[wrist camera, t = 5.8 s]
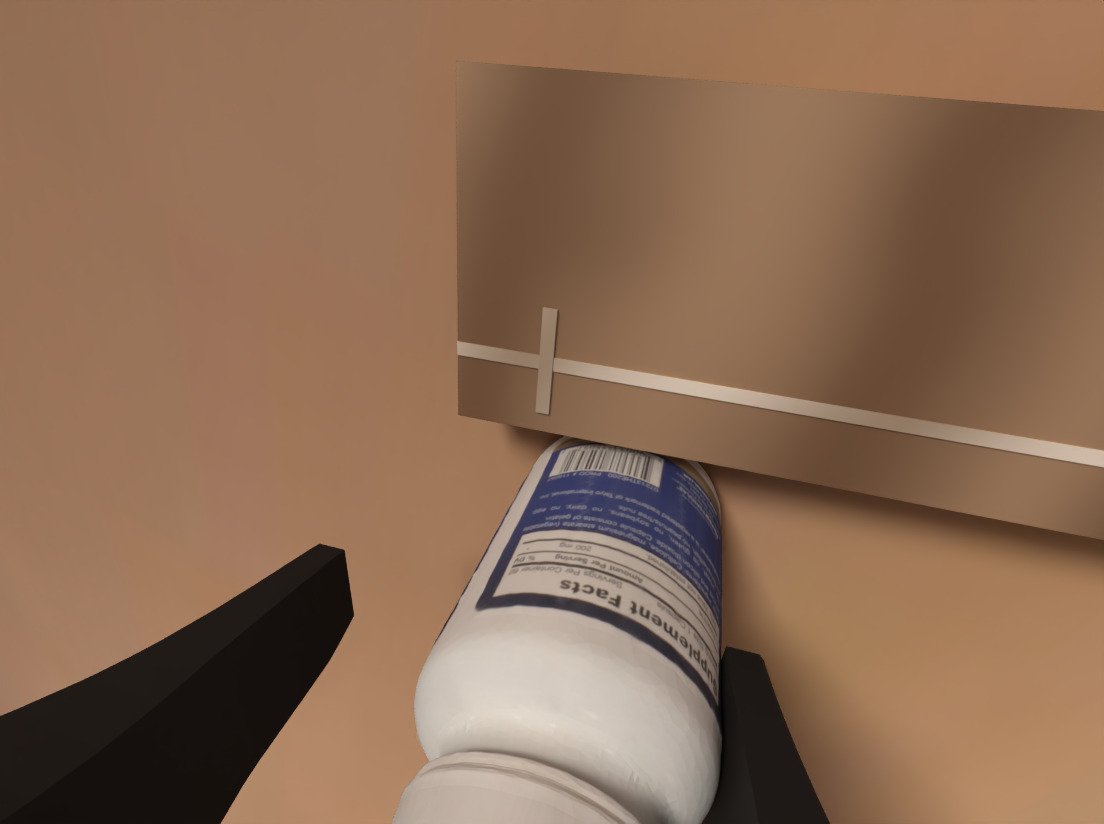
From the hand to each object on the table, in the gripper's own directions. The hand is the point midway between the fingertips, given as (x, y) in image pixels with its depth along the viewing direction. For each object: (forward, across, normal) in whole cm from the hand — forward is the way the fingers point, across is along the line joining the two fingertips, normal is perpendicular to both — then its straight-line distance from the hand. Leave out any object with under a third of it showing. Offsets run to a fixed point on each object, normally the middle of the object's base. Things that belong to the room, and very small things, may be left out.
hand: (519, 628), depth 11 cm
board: (+5, -6, -6) cm, 10 cm away
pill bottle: (+5, -2, 0) cm, 5 cm away
